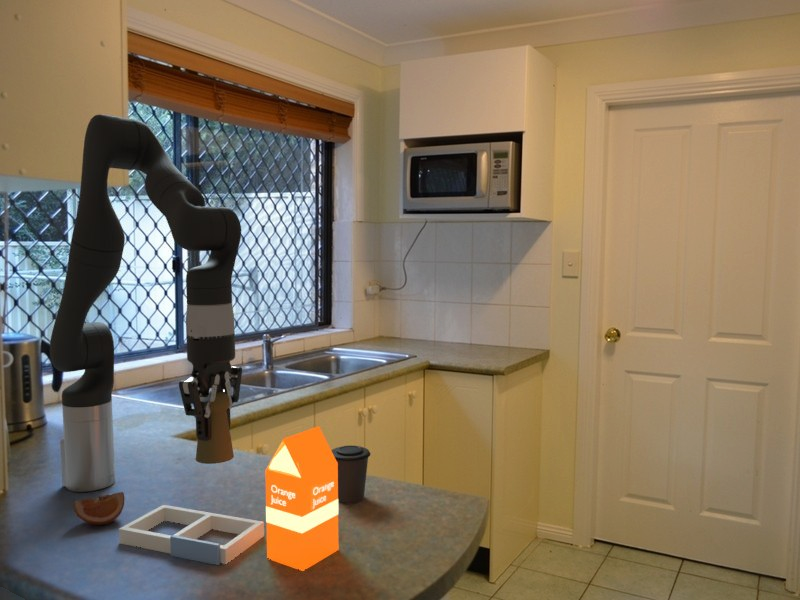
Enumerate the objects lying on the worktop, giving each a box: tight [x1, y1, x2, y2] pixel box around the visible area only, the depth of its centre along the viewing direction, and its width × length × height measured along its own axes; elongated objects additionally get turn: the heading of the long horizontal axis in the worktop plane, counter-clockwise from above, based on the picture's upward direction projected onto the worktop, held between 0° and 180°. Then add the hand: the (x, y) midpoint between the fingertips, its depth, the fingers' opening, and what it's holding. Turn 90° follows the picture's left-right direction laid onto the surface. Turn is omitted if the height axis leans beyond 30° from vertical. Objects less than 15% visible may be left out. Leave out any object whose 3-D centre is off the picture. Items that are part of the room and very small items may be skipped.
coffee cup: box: [331, 445, 371, 505], centre depth 134 cm, size 8×8×10 cm
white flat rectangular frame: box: [118, 504, 265, 566], centre depth 116 cm, size 21×12×3 cm, turn 69°
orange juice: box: [264, 425, 340, 572], centre depth 110 cm, size 8×9×20 cm
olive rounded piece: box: [195, 392, 235, 465], centre depth 113 cm, size 6×6×11 cm
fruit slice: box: [72, 491, 126, 526], centre depth 124 cm, size 8×7×5 cm
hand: (214, 434), depth 113 cm, fingers closed on olive rounded piece, 4 cm apart
